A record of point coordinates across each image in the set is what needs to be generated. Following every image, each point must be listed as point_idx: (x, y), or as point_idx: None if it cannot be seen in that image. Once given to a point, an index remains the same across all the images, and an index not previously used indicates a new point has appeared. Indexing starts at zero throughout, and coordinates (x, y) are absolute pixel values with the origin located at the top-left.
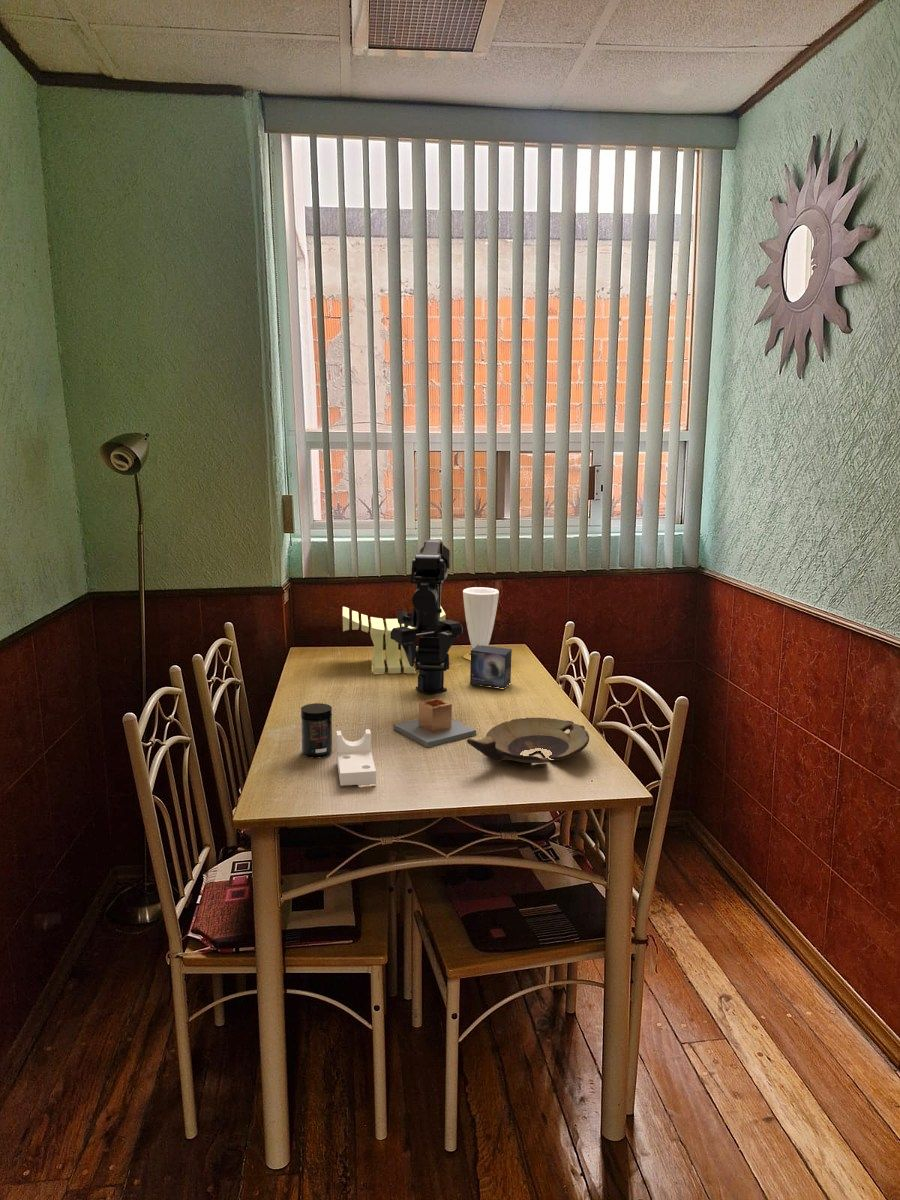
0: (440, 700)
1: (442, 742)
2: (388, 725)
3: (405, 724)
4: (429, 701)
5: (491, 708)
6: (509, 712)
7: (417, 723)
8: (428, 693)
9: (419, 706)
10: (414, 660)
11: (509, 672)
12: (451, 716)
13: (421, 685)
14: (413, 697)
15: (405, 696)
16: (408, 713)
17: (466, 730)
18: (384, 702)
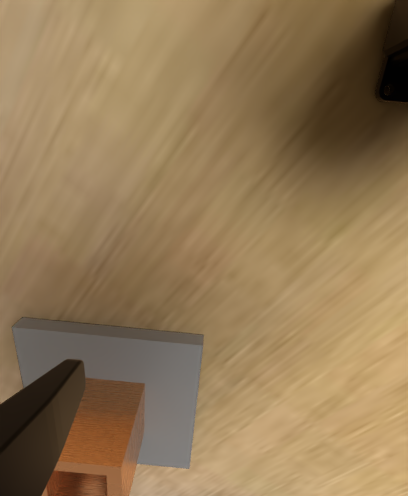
0: (111, 486)
1: None
2: (21, 282)
3: (45, 346)
4: (70, 470)
5: (394, 365)
6: (396, 413)
7: (83, 361)
8: (378, 97)
9: None
10: (40, 482)
11: None
12: (134, 470)
13: (402, 28)
14: (294, 77)
15: (277, 33)
16: (142, 235)
17: (166, 459)
18: (135, 45)
